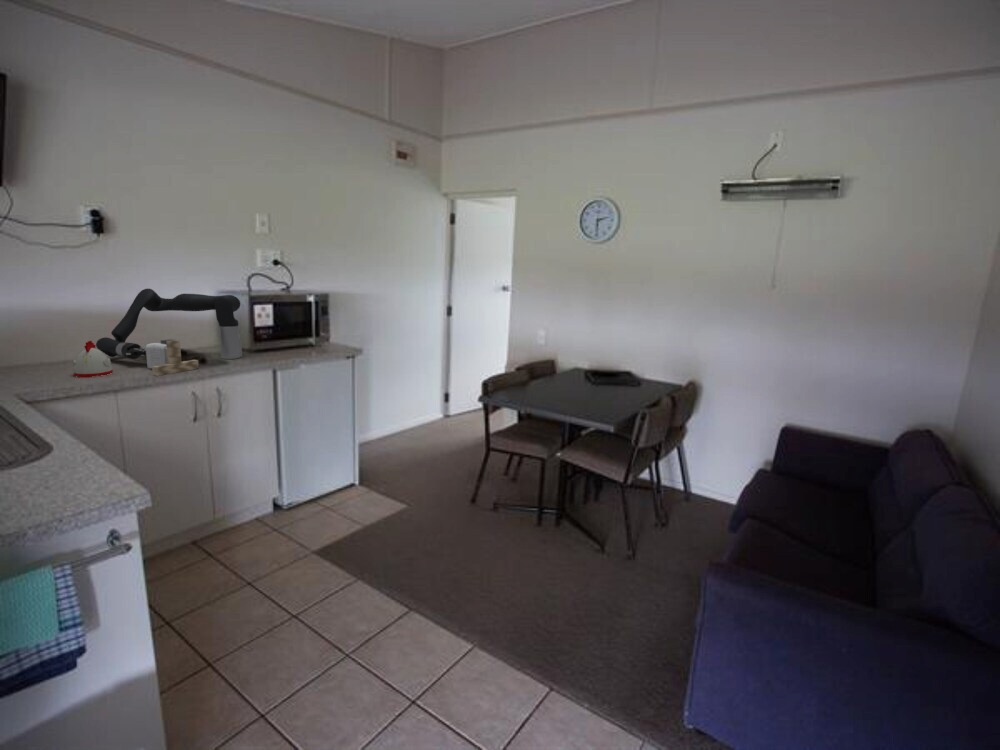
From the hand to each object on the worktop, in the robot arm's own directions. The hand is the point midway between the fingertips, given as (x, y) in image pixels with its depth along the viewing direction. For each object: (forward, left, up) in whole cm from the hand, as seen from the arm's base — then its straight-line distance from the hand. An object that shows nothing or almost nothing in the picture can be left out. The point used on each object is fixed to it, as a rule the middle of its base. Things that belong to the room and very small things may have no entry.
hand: (151, 353), depth 250 cm
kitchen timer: (+22, -7, -7) cm, 24 cm away
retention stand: (0, +15, -7) cm, 17 cm away
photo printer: (0, +5, -7) cm, 8 cm away
